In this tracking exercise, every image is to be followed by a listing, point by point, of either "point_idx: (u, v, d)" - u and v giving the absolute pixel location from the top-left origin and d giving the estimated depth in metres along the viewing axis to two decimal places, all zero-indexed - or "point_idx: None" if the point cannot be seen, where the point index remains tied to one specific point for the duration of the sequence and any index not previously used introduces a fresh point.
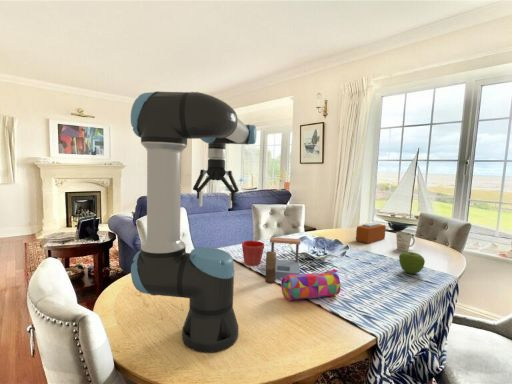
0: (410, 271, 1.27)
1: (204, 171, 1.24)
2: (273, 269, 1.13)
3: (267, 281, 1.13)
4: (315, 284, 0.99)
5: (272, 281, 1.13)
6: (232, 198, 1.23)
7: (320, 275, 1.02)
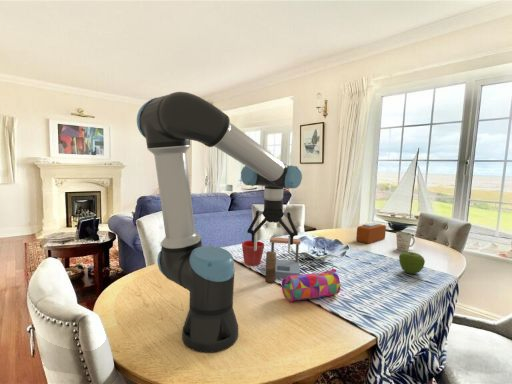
0: (410, 271, 1.27)
1: (260, 212, 1.13)
2: (273, 269, 1.13)
3: (267, 281, 1.13)
4: (316, 284, 0.99)
5: (272, 281, 1.13)
6: (291, 242, 1.12)
7: (320, 275, 1.02)
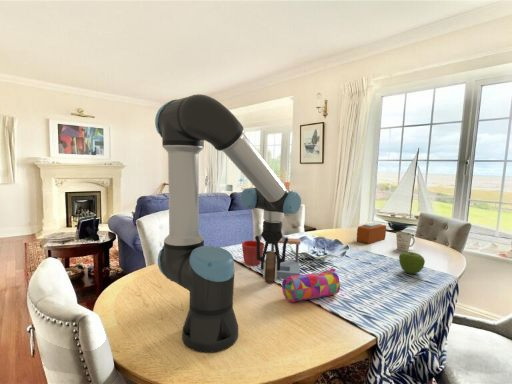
0: (410, 271, 1.27)
1: (259, 236, 1.13)
2: (273, 269, 1.13)
3: (267, 281, 1.13)
4: (317, 284, 0.99)
5: (272, 281, 1.13)
6: (278, 268, 1.13)
7: (320, 275, 1.02)
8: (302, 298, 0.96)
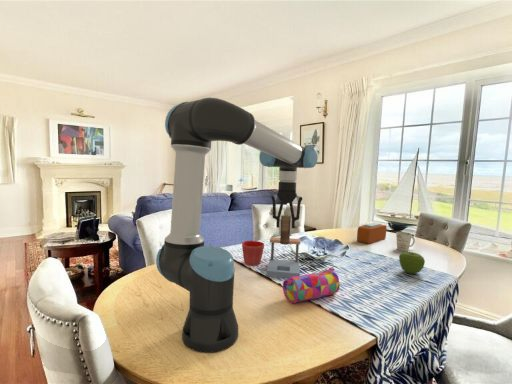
0: (410, 271, 1.27)
1: (275, 196, 1.21)
2: (288, 231, 1.20)
3: (282, 242, 1.21)
4: (317, 284, 0.99)
5: (287, 242, 1.21)
6: (293, 226, 1.21)
7: (320, 275, 1.03)
8: (304, 299, 0.96)
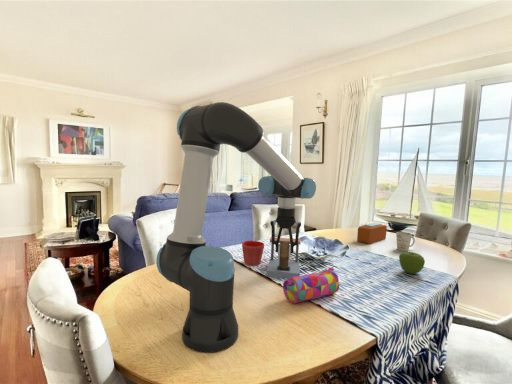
0: (410, 271, 1.27)
1: (274, 221, 1.22)
2: (286, 257, 1.21)
3: (281, 268, 1.22)
4: (318, 284, 0.99)
5: (286, 268, 1.22)
6: (292, 251, 1.22)
7: (320, 275, 1.03)
8: (304, 299, 0.96)
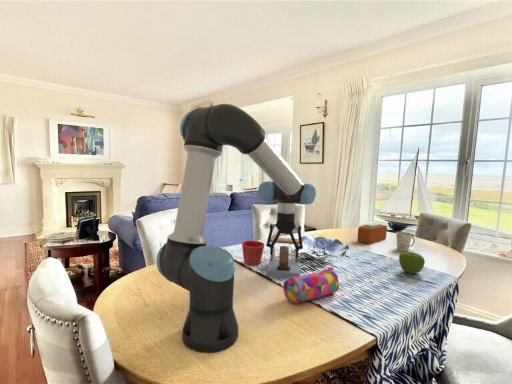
0: (410, 271, 1.27)
1: (273, 225, 1.22)
2: (286, 262, 1.21)
3: None
4: (318, 284, 0.99)
5: None
6: (296, 255, 1.21)
7: (320, 275, 1.03)
8: (305, 299, 0.96)
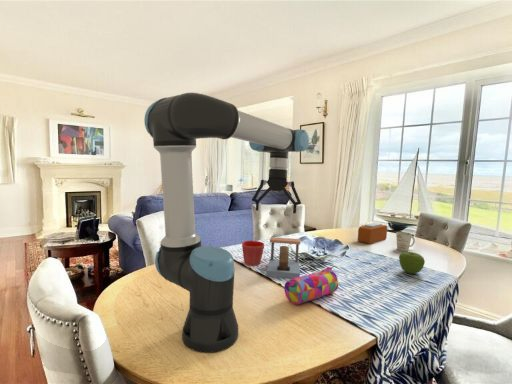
0: (410, 271, 1.27)
1: (264, 181, 1.16)
2: (286, 262, 1.21)
3: None
4: (319, 284, 0.99)
5: None
6: (294, 211, 1.15)
7: (320, 274, 1.03)
8: (307, 299, 0.95)
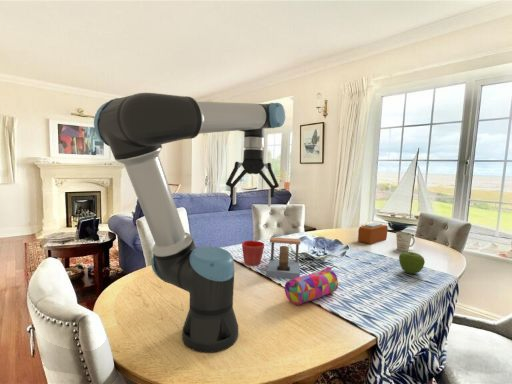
0: (410, 271, 1.27)
1: (239, 163, 1.07)
2: (286, 262, 1.21)
3: None
4: (319, 284, 0.99)
5: None
6: (272, 195, 1.06)
7: (320, 274, 1.03)
8: (307, 299, 0.95)
